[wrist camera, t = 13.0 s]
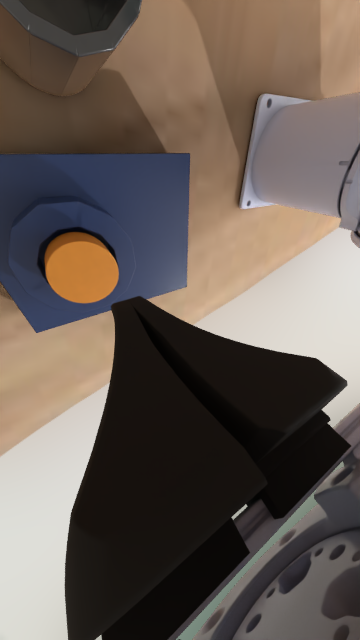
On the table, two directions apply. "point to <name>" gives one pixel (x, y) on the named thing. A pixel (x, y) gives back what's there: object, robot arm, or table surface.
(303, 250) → the table surface
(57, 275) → the button
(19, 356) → the table surface
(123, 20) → the pot
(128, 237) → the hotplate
